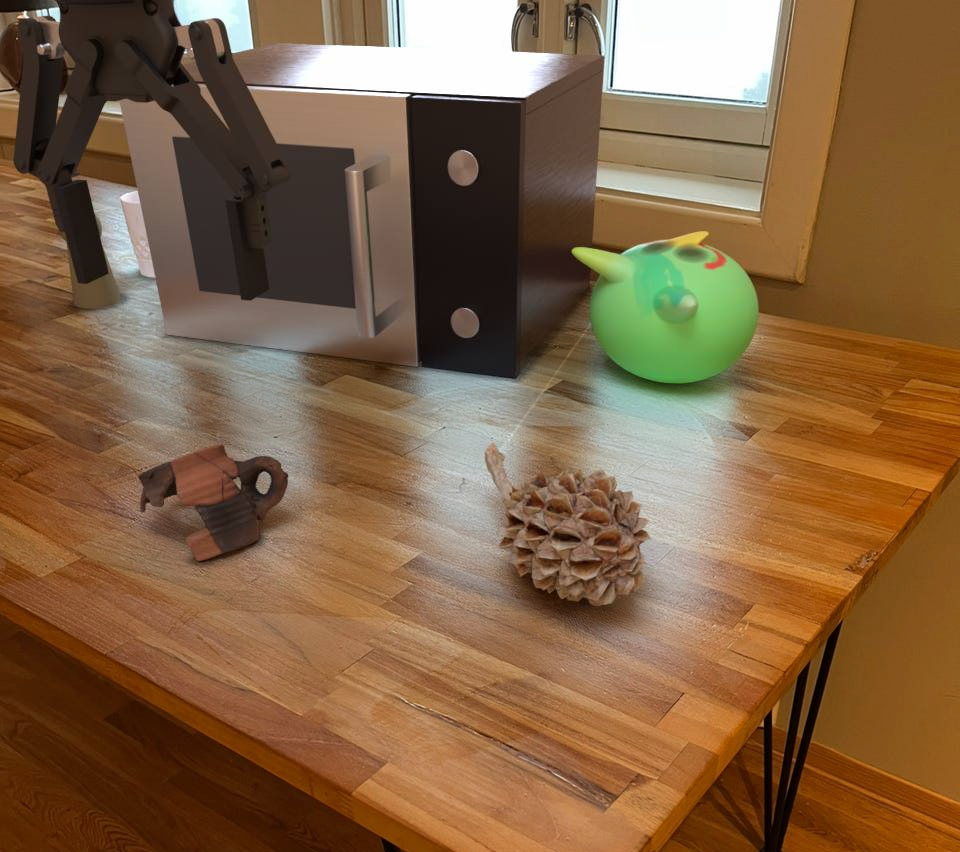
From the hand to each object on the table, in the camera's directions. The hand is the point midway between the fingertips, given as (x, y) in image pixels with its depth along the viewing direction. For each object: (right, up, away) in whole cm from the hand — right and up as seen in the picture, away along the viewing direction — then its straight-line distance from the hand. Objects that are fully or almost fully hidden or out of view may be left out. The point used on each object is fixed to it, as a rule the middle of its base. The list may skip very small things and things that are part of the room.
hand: (172, 286), depth 70 cm
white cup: (-23, +27, +67) cm, 76 cm away
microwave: (+11, +17, +54) cm, 57 cm away
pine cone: (+27, -20, +6) cm, 34 cm away
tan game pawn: (-28, +19, +57) cm, 66 cm away
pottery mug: (+1, -17, +11) cm, 20 cm away
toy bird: (+42, +3, +36) cm, 56 cm away
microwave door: (-1, +6, +40) cm, 41 cm away
